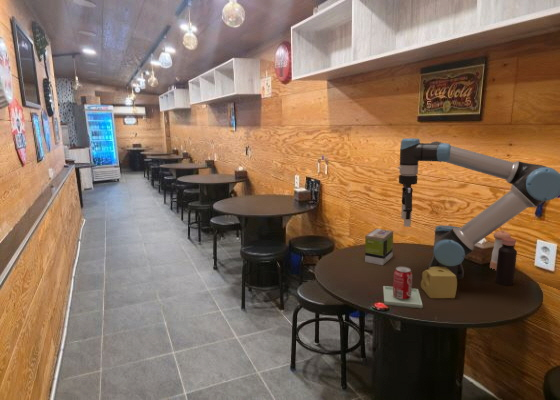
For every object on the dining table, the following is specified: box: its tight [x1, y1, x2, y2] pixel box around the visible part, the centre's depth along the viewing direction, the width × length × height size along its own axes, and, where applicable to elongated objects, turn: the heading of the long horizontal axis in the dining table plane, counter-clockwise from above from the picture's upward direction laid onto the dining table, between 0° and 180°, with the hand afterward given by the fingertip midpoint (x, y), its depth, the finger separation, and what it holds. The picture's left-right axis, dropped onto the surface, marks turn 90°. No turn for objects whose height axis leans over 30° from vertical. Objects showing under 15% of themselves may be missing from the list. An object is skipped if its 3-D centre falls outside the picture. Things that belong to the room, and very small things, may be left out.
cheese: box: [420, 267, 458, 299], centre depth 146 cm, size 10×11×10 cm
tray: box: [382, 285, 423, 309], centre depth 143 cm, size 14×14×2 cm
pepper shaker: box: [489, 230, 512, 271], centre depth 170 cm, size 7×7×19 cm
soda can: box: [392, 265, 413, 300], centre depth 142 cm, size 7×7×12 cm
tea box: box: [364, 228, 394, 266], centre depth 185 cm, size 15×10×15 cm
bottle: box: [494, 237, 518, 286], centre depth 154 cm, size 7×7×20 cm
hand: (405, 222), depth 157 cm, fingers open, 13 cm apart
